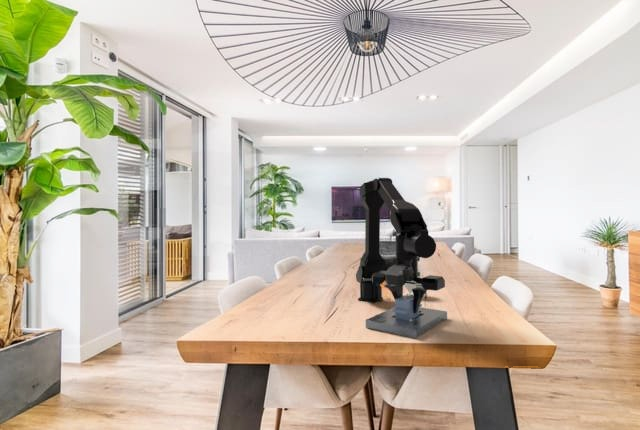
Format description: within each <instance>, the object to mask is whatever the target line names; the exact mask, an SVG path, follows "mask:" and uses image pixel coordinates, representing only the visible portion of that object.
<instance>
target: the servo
mask: <svg viewBox="0 0 640 430" xmlns="http://www.w3.org/2000/svg"><path fill="white" fill-rule="evenodd" d="M413 297H414V294H413V293H411V294H410V293H406V294H405V295H404V294H403V296H402V297H399V298H397V299H394V305H395V306H394V307H395V308H394V307H393V308H394V309H392V312H395V318H398V319H403V320H409V321H412V320H414V319H416V317H417V316H419V308H418V310H417V313H414V311H413ZM422 306H423V304H422V303H420V306H419V307H422Z"/></svg>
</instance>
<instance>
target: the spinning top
mask: <svg viewBox="0 0 640 430" xmlns="http://www.w3.org/2000/svg"><path fill="white" fill-rule="evenodd" d="M418 272H420V276H418V277H419V278H422V273H421V271H420V269H419V268H418ZM412 281H413V280H412ZM403 288H405V290H406V291H408V293H409V294H412V293H413V292H412V289H414V288H416V286H415V284H409V283H405V284H404V285H403Z"/></svg>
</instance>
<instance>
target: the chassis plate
mask: <svg viewBox="0 0 640 430" xmlns="http://www.w3.org/2000/svg"><path fill="white" fill-rule="evenodd" d="M394 308H395V306H394V307H392V308H390V309H387V310H385V311H383V312H381V313H378V314H375V315H374V316H371V317H369V318H367V319H365V328H366V329H371V330H375V331H379V332H384V333H389V334H393V335H399V336H403V337H408V338H412V339H418V338H419V337H421V336H423V335H424V334H425V333H428V332H429V331H430V330H432V329H434V328H435V327H436V326H439V325H440V324H441V323H443V322H444V321H446V320H448V311H446V310H439V309H434V308H427V307H422V306H421V307H419V316H417V317H415V318H413V319H412V320H410V321H409V320H404V319H398V318H395V312H392V309H394Z"/></svg>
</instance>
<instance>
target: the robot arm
mask: <svg viewBox="0 0 640 430" xmlns="http://www.w3.org/2000/svg"><path fill="white" fill-rule="evenodd" d="M358 191H359V196H360V202H361V204H362V205H363V207H364V209H365V227H364V228H365V231H364V232H365V233H364V235H365V237H364V238H365V240H364V241H365V242H364V245H365V246H364V247H365V248H364V253H363V255H362V256H361V257H360V260H359V261H360V262H359V265H358V268H357V271H356V273H355V280H356V282H357V283H359V288H360V291H359V292H360V293H359V294H360V295H359V296H360V297H358V298H357V300H358V301H363V302H370V303H375V302H379V301H381V300H383V299H384V297H383V296H382V295H383V290H382V286H381V285H383V283H384V282H385V284H384V285H383V286H384V288H387V289H388V290H389V291H390V292H391V295H392V297H393V299H394V300H395V299H397V298H399V297H402V296H404V284H405V283H409V284H415V286H416V287H415V288H414V289H412V292H411V293H412V294H413V296H414V297H413V311H414V313H417V310H418V308H419V306H420V304H422V300H423V298H424V296H425V294H426V293H427V291H434V292H435V291H439V290H441V289H444V288H445V287H446V281H445V278H444V277H443V276H442V275H432V274H431V275H430V274H429V275H426V276H424V277H421V278H419V277H418V276H420V273H421V271H420V272H418V269H419V267H418V266H419V265H418V263H419V262H420V260H421V259H428V258H431V257H432V256H433V255H434V254H435V252H436V249H437V243H436V241H435V239H434V238H433V237H432V236H431V235H429V230H428V225H427V223H426V221H425V220H424V217H423V215H422V213H421V211H420V209H419V208H418V207H417V206H416V205H415V204H413V203H412V202H409V201H406V200H405V198H403V196H402V194H401V193H400V192H399V191H398V189H397V187H395V185H394V184H393V180H392V179H391V178H390V177H376V178H374V179H373V180H370V181H367V182H363V184H361V185H360V186H359V189H358ZM384 204H385V205H386V207H387V208H388V210H389V212H390V214H389V220H390V223H391V226H392V227H393V228H394V230H395V231H394V232H393V233H392V234H393V237H395V257H393V260H392V266H390V267H388V268H386V266H385V264H386V261H385V259H384V258H383V256H382V255H381V253H380V248H381V247H380V243H381V239H380V237H381V235H380V234H381V232H380V231H381V230H380V229H381V221H380V220H381V209H382V207H383V205H384ZM412 280H413V281H412Z"/></svg>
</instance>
